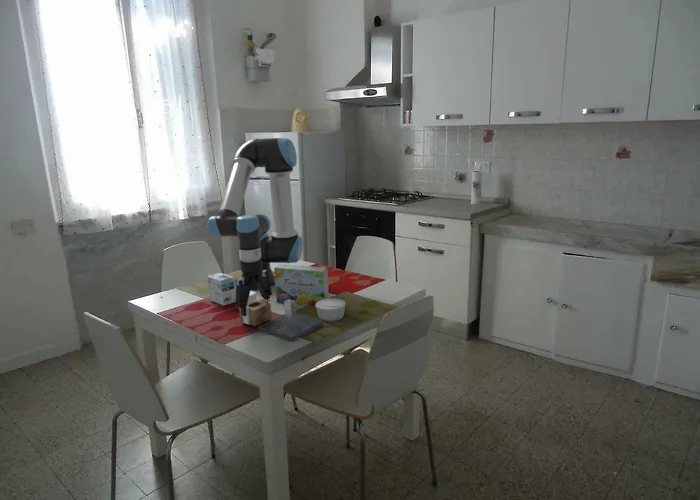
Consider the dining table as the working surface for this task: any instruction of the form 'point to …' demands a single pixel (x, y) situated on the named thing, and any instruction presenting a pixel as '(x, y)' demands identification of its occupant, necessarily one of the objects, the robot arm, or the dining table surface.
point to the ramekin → (330, 309)
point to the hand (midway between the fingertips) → (256, 319)
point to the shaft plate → (291, 330)
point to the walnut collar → (258, 312)
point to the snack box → (301, 284)
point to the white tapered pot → (252, 296)
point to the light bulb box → (222, 288)
